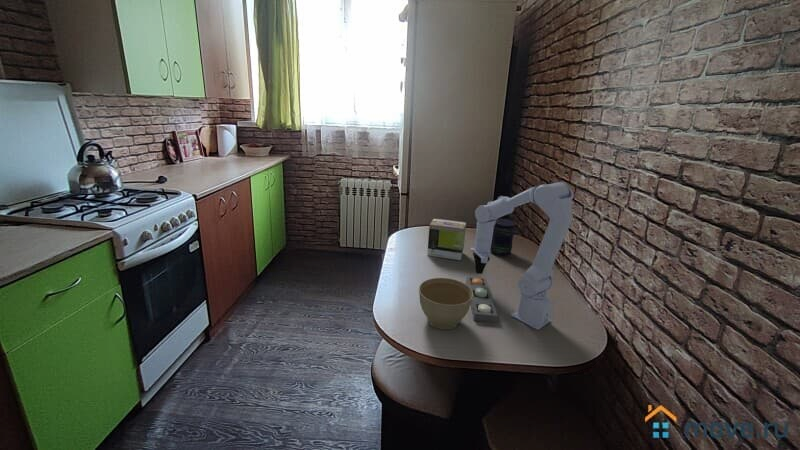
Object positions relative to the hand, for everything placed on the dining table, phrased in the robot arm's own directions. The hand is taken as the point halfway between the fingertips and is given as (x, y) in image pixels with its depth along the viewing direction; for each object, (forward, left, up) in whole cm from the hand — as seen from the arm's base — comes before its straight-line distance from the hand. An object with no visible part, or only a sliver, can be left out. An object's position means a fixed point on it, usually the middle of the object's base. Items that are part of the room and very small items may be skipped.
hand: (478, 272), depth 131 cm
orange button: (0, 0, -5) cm, 5 cm away
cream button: (-13, +13, -5) cm, 19 cm away
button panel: (-6, +6, -6) cm, 11 cm away
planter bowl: (-7, +26, -6) cm, 28 cm away
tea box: (+28, -13, -6) cm, 31 cm away
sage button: (-6, +6, -4) cm, 10 cm away
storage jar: (+15, -36, -6) cm, 40 cm away
